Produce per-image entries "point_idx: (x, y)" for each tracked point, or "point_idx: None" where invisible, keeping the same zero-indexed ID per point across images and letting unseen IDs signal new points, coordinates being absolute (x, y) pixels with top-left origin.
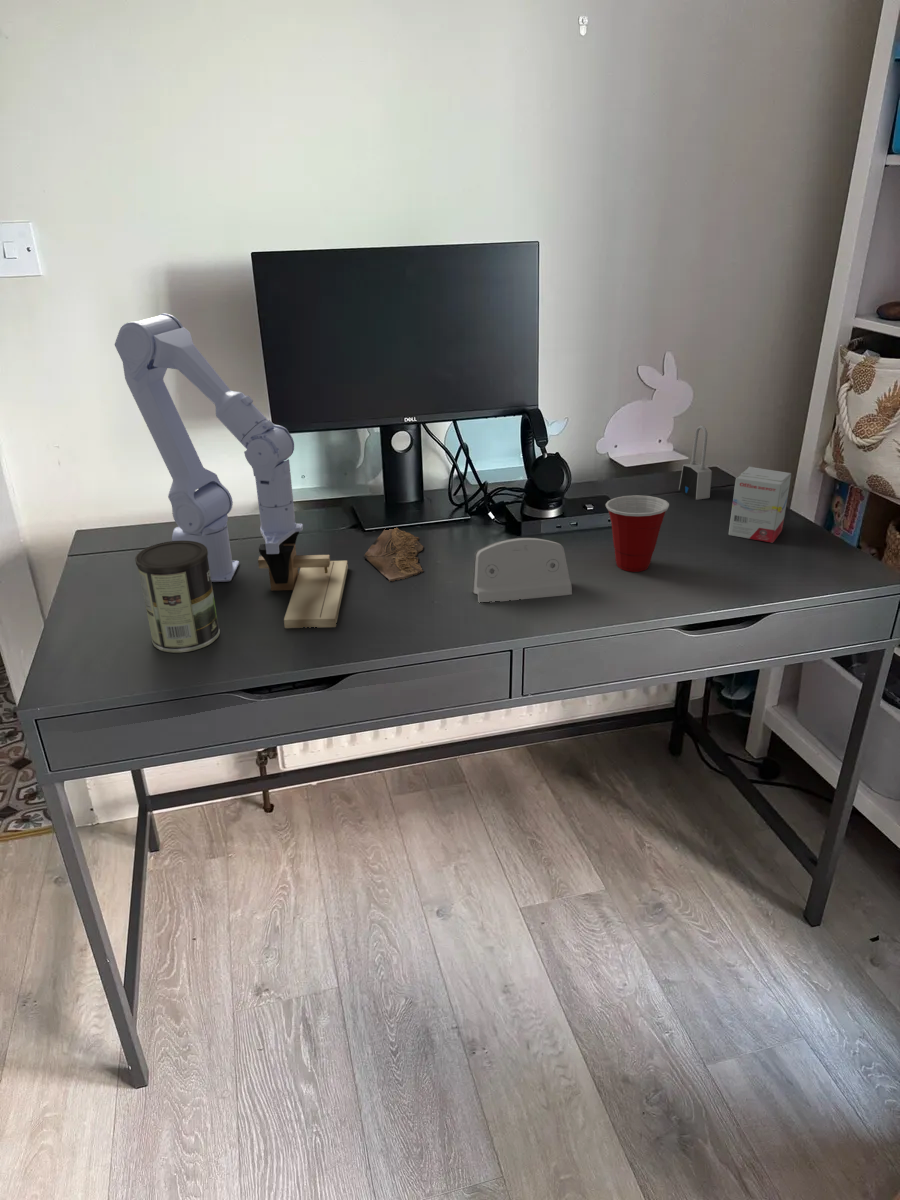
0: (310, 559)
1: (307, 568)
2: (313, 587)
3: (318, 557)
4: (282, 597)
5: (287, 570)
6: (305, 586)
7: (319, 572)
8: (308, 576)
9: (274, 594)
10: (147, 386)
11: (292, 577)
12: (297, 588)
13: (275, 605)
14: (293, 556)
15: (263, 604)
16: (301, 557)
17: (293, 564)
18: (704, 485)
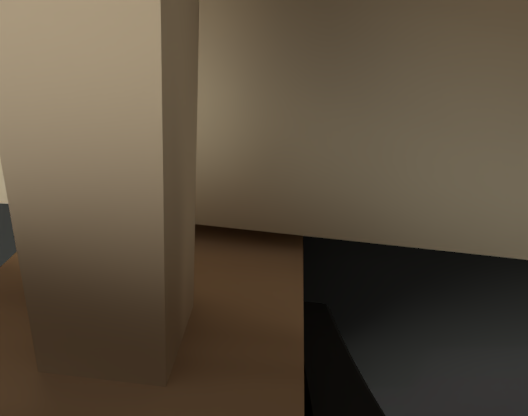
0: (161, 158)
1: None
2: (476, 68)
3: (96, 7)
4: (406, 292)
5: (371, 398)
6: (424, 151)
7: None
8: None
9: (345, 337)
10: None
11: (300, 285)
12: (445, 221)
13: (522, 329)
14: (116, 401)
15: (478, 389)
16: (103, 293)
17: (196, 340)
18: None
